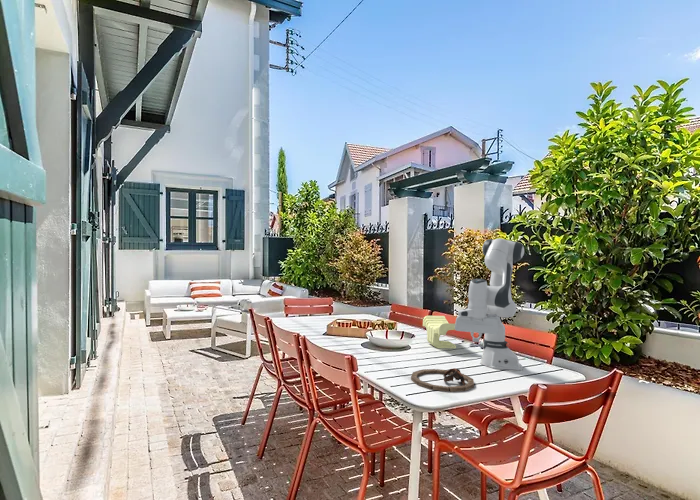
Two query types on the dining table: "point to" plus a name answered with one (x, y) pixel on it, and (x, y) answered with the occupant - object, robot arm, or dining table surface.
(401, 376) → the dining table surface
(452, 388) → the brown flat ring
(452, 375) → the dark brown arched piece
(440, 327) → the ribbed pale green clamp
